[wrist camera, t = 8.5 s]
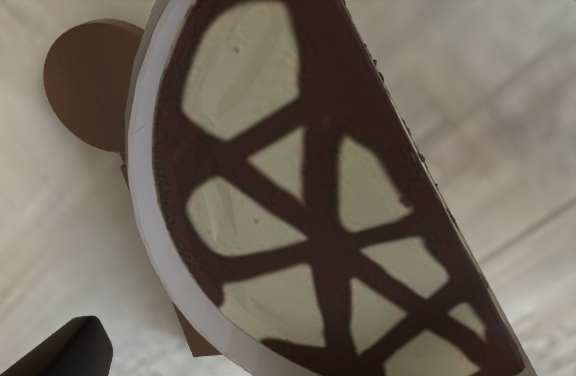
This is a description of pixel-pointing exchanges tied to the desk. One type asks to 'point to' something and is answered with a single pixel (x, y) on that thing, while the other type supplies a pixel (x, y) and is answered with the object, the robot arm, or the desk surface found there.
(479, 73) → the desk surface
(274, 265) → the food container
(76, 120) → the walnut spoon
